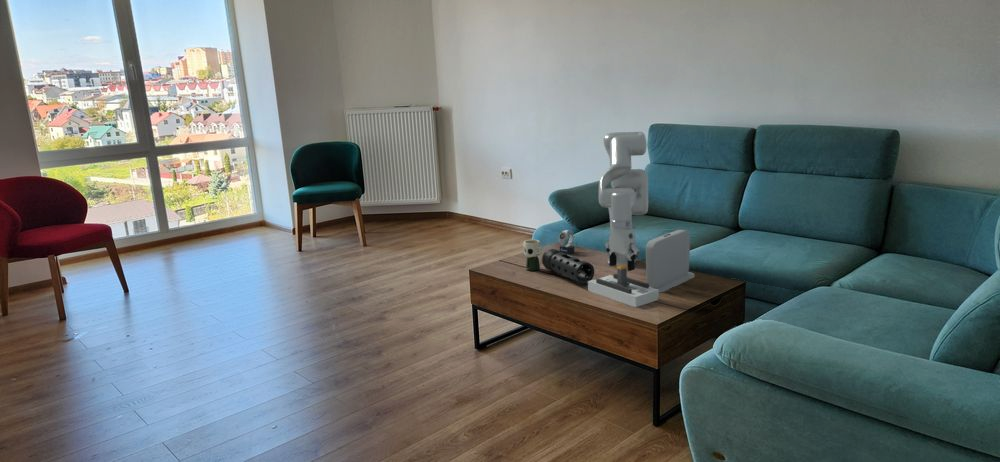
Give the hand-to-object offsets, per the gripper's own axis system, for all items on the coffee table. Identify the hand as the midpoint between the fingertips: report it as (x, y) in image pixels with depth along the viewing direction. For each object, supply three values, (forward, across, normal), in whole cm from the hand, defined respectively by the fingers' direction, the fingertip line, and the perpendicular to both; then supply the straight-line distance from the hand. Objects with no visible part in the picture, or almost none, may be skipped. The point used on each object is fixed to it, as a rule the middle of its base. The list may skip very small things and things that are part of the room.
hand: (621, 267), depth 253 cm
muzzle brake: (+11, +32, 0) cm, 34 cm away
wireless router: (+11, 0, -26) cm, 28 cm away
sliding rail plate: (+7, 0, 0) cm, 7 cm away
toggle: (+7, 0, 0) cm, 7 cm away
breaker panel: (+11, 0, 0) cm, 11 cm away
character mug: (+11, +52, +4) cm, 54 cm away
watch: (+10, +64, -26) cm, 69 cm away
